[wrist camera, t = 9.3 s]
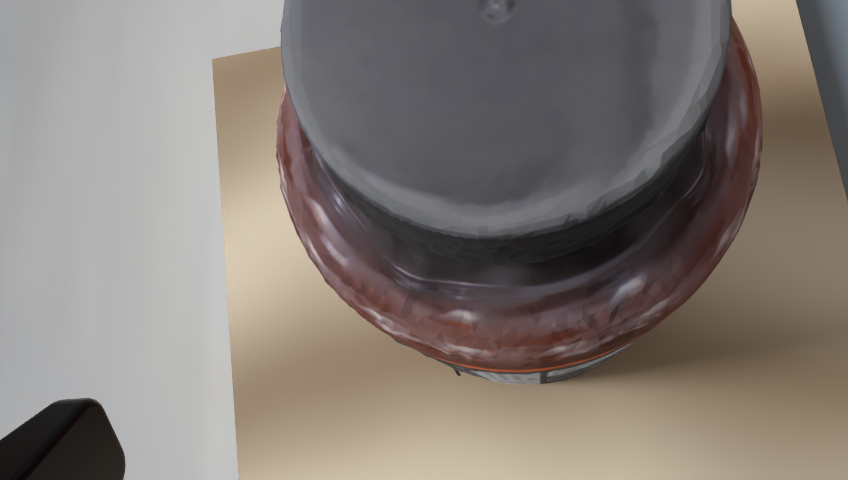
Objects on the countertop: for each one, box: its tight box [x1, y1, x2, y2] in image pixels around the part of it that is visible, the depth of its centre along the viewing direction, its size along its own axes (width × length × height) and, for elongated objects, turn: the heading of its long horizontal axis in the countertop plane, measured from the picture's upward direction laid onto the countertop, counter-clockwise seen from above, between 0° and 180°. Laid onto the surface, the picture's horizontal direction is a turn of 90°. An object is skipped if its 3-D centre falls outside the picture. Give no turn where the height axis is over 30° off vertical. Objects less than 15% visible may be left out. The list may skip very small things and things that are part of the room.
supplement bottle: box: [276, 0, 763, 385], centre depth 12 cm, size 6×6×11 cm
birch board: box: [212, 0, 848, 480], centre depth 18 cm, size 18×14×1 cm
